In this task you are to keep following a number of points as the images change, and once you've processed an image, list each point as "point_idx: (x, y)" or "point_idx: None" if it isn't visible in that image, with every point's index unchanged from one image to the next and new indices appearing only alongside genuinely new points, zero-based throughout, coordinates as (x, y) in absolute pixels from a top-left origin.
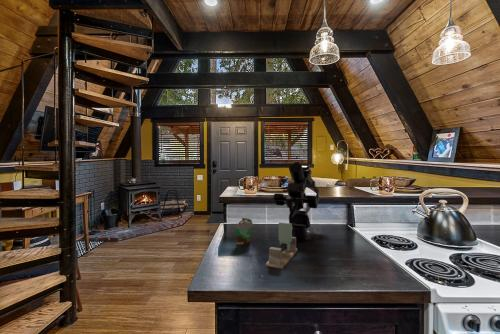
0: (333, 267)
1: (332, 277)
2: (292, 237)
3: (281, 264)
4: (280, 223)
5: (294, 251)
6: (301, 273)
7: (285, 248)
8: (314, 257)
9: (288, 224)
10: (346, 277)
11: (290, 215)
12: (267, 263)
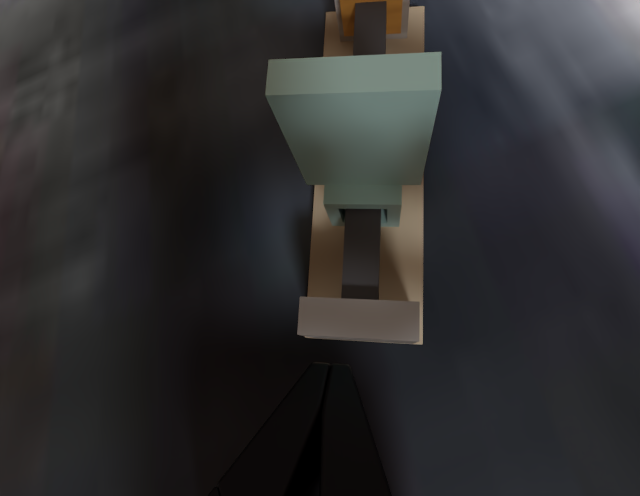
0: (83, 151)
1: (94, 43)
2: (329, 313)
3: (335, 25)
4: (414, 58)
5: (310, 259)
6: (228, 19)
7: None
8: (182, 254)
9: (304, 62)
10: (37, 69)
11: (342, 365)
12: (414, 8)
